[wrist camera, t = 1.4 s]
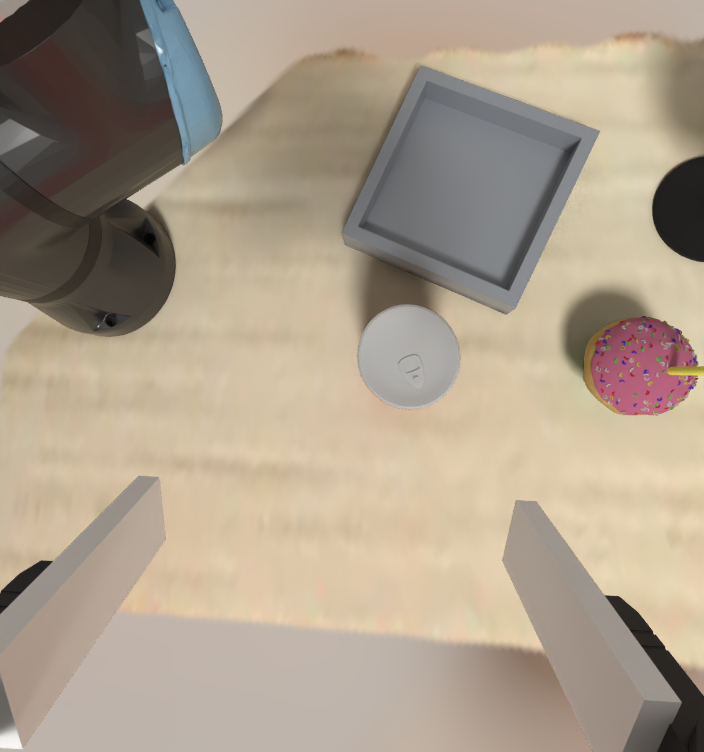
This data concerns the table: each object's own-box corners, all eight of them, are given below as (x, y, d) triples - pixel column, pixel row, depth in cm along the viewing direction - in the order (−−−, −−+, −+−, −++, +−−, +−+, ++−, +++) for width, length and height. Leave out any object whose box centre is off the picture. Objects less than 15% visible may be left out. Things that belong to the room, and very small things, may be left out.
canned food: (398, 419, 39) (400, 430, 28) (350, 358, 40) (334, 346, 29) (458, 373, 39) (484, 366, 28) (409, 312, 39) (415, 282, 28)
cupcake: (669, 345, 37) (803, 322, 25) (636, 427, 37) (755, 444, 25) (580, 314, 38) (668, 278, 26) (548, 394, 38) (621, 395, 26)
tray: (345, 244, 40) (341, 232, 37) (418, 89, 40) (420, 65, 37) (506, 314, 38) (515, 307, 35) (583, 151, 38) (600, 130, 35)
